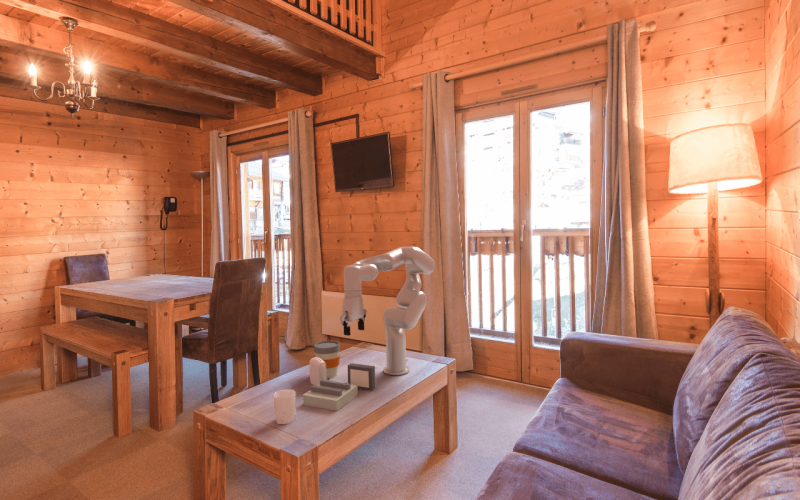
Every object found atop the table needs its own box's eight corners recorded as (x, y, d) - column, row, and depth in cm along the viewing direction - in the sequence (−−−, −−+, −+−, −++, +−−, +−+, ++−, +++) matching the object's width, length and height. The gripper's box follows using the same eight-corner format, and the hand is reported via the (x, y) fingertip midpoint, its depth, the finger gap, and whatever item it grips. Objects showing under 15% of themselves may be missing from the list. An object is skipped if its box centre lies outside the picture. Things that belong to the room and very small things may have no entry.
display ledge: (325, 389, 175) (325, 376, 174) (357, 394, 168) (357, 380, 168) (303, 404, 160) (302, 389, 160) (337, 411, 154) (336, 395, 153)
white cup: (277, 415, 151) (276, 390, 150) (298, 414, 152) (297, 388, 151) (272, 426, 143) (271, 398, 143) (294, 424, 144) (293, 397, 143)
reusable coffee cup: (342, 378, 187) (341, 346, 186) (314, 381, 185) (313, 349, 184) (340, 369, 200) (339, 339, 199) (314, 371, 197) (313, 341, 196)
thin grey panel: (351, 384, 179) (350, 363, 179) (375, 388, 174) (374, 366, 174) (347, 387, 176) (347, 365, 176) (371, 391, 171) (371, 368, 171)
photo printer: (308, 383, 183) (307, 356, 182) (317, 380, 185) (316, 354, 185) (319, 389, 175) (318, 362, 174) (328, 387, 177) (327, 359, 177)
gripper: (358, 290, 183) (359, 327, 184) (333, 296, 168) (334, 336, 169) (371, 291, 179) (372, 329, 180) (346, 297, 164) (348, 338, 165)
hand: (354, 332), depth 174 cm, fingers open, 9 cm apart
